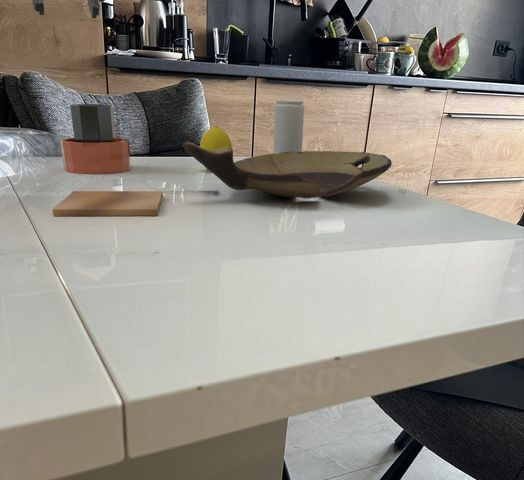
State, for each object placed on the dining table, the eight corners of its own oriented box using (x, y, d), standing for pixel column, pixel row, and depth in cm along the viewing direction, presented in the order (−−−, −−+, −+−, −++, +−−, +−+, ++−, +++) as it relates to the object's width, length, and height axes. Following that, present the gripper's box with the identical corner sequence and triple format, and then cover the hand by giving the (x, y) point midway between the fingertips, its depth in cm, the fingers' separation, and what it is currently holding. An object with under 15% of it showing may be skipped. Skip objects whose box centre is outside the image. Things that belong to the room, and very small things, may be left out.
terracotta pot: (58, 178, 88) (53, 142, 85) (72, 169, 97) (68, 136, 95) (127, 179, 89) (124, 143, 87) (134, 169, 99) (131, 137, 96)
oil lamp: (417, 209, 71) (426, 147, 68) (185, 211, 68) (182, 145, 64) (365, 182, 91) (370, 132, 88) (184, 182, 87) (182, 130, 84)
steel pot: (75, 171, 90) (67, 105, 85) (82, 166, 95) (75, 103, 91) (114, 172, 90) (108, 105, 86) (119, 166, 96) (113, 104, 92)
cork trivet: (53, 216, 64) (52, 209, 63) (73, 197, 74) (73, 191, 74) (157, 215, 65) (156, 209, 65) (163, 197, 76) (162, 191, 75)
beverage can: (269, 178, 92) (271, 100, 87) (275, 174, 97) (278, 100, 91) (297, 180, 91) (301, 101, 86) (302, 176, 96) (306, 101, 90)
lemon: (196, 173, 96) (195, 124, 92) (226, 172, 98) (226, 124, 94) (205, 178, 91) (203, 126, 88) (236, 177, 93) (236, 126, 90)
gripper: (3, -86, 90) (22, -12, 86) (92, -75, 96) (113, -5, 91) (7, -41, 96) (24, 29, 92) (90, -33, 102) (109, 34, 98)
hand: (68, 12), depth 92 cm, fingers open, 8 cm apart
